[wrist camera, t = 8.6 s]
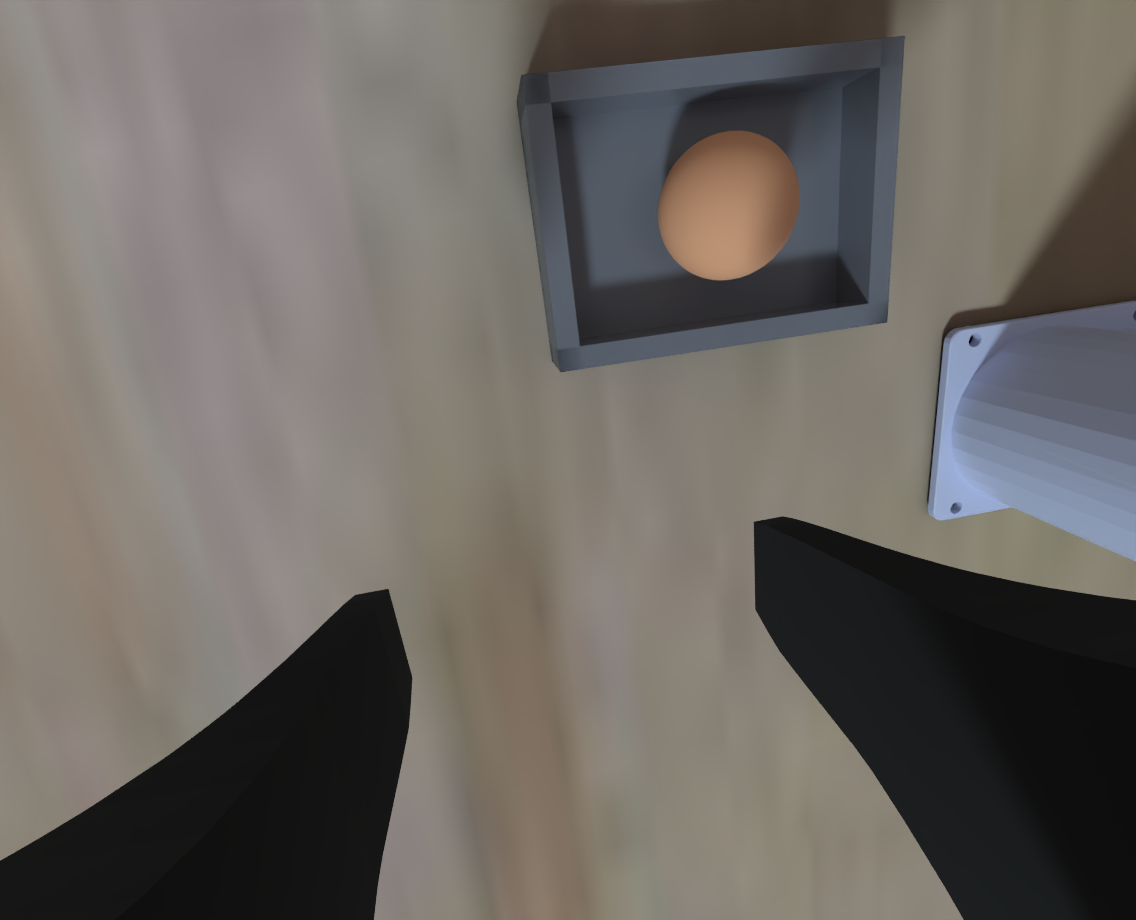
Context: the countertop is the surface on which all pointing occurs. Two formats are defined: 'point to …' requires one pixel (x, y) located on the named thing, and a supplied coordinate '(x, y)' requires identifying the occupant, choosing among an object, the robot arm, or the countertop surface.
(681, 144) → the dish
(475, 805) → the countertop surface
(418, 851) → the countertop surface
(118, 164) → the countertop surface
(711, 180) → the ball
